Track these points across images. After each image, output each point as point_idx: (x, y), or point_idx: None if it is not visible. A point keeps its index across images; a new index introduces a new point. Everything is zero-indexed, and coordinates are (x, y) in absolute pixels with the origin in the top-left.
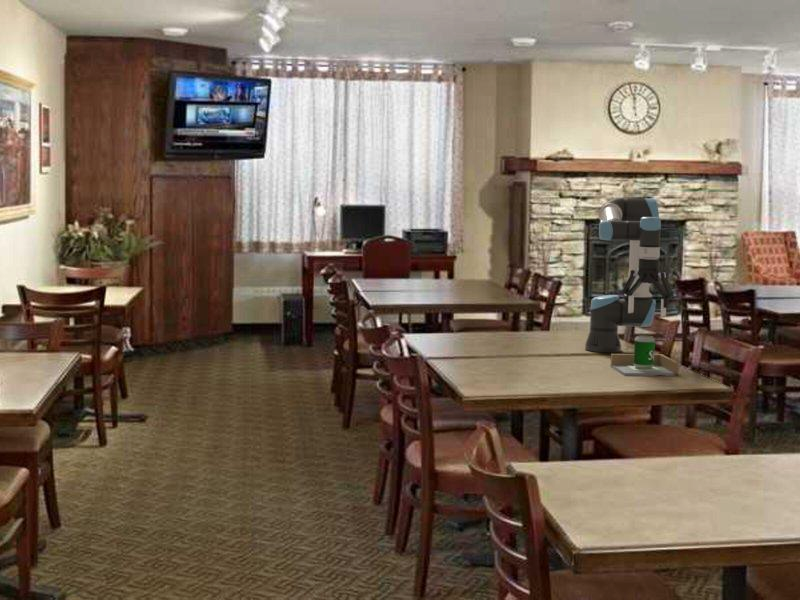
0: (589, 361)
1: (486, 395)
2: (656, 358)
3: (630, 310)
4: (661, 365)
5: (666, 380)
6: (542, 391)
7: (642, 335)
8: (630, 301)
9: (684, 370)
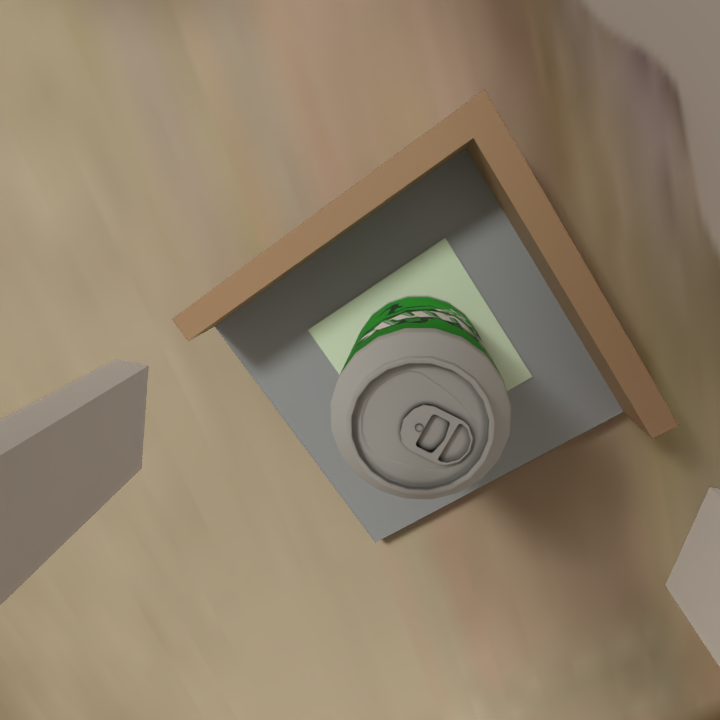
0: (24, 184)
1: None
2: (451, 155)
3: (120, 472)
4: (494, 195)
5: (601, 552)
6: None
7: (378, 376)
8: (3, 591)
9: (645, 157)
